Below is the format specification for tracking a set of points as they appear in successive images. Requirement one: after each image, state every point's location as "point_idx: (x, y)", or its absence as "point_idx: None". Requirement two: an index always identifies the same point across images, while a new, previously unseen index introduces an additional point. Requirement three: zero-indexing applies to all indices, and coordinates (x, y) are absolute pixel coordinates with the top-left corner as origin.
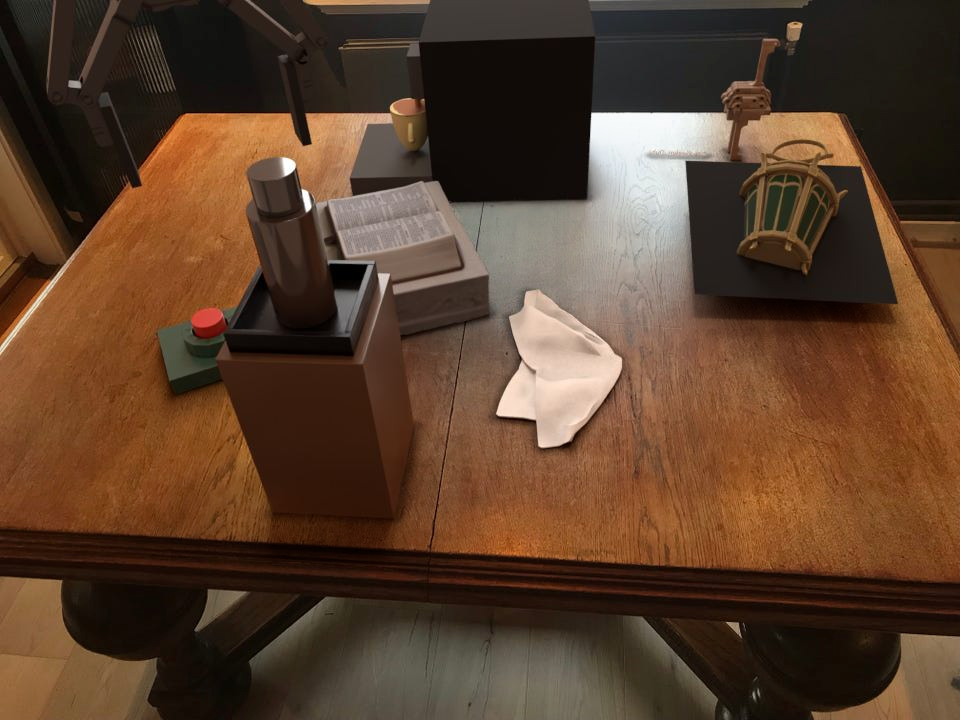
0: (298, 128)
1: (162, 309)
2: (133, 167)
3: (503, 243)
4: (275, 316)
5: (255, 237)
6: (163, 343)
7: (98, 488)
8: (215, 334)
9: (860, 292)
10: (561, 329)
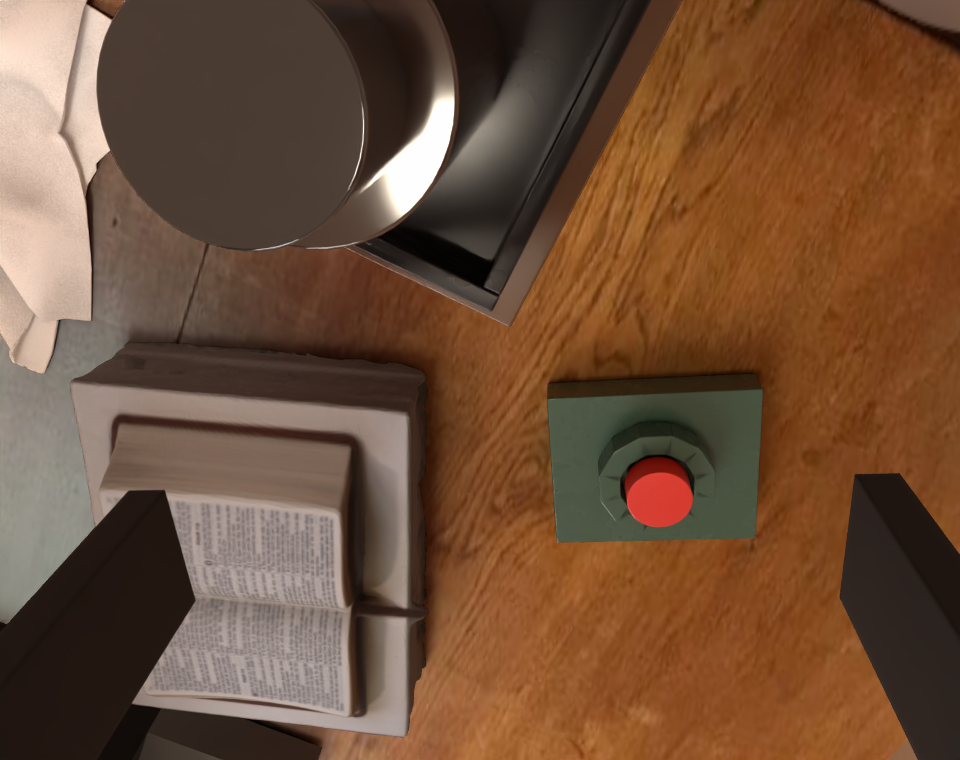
0: (135, 549)
1: (728, 608)
2: (894, 527)
3: (65, 525)
4: (503, 62)
5: (457, 24)
6: (751, 496)
7: (948, 182)
8: (651, 460)
9: None
10: None
